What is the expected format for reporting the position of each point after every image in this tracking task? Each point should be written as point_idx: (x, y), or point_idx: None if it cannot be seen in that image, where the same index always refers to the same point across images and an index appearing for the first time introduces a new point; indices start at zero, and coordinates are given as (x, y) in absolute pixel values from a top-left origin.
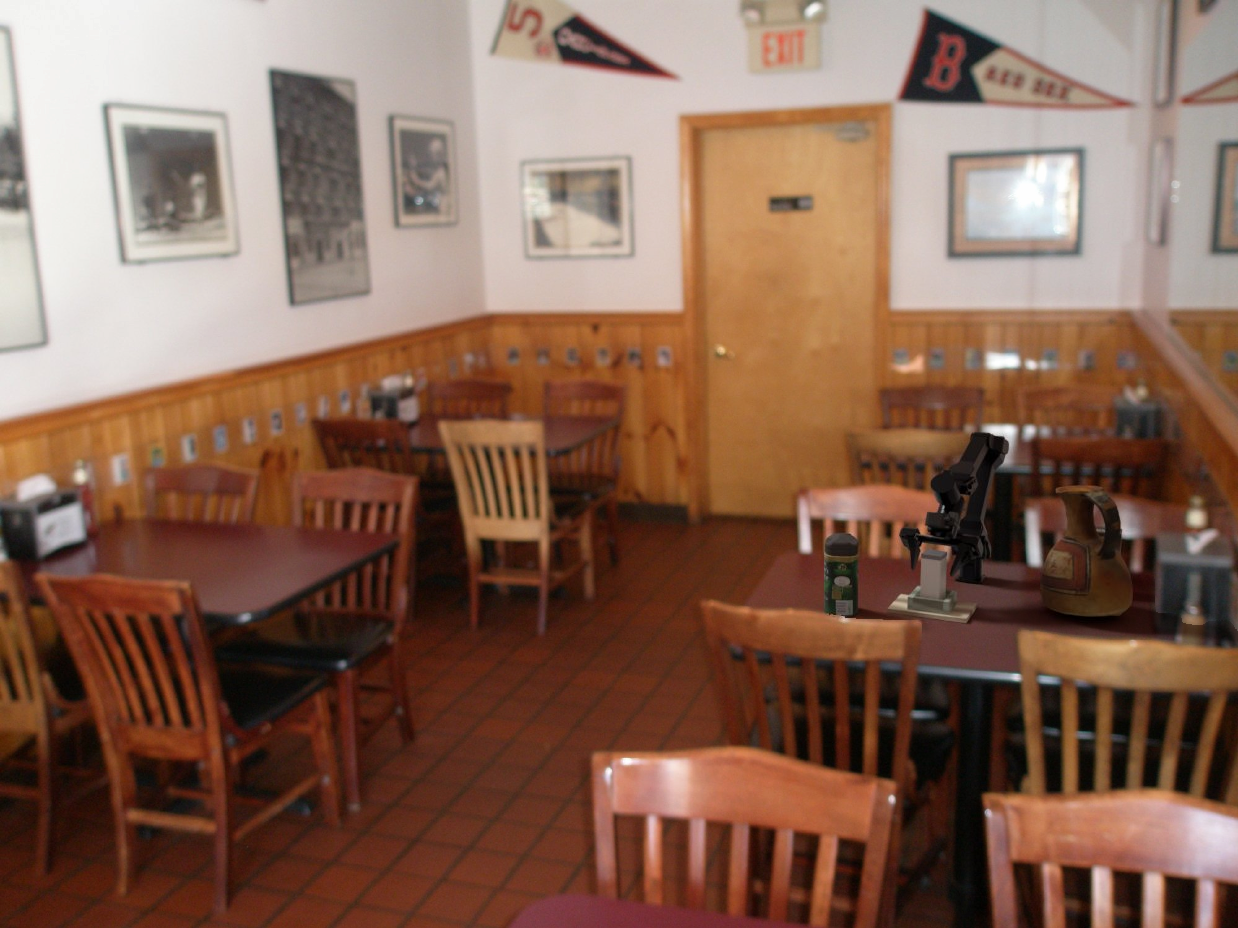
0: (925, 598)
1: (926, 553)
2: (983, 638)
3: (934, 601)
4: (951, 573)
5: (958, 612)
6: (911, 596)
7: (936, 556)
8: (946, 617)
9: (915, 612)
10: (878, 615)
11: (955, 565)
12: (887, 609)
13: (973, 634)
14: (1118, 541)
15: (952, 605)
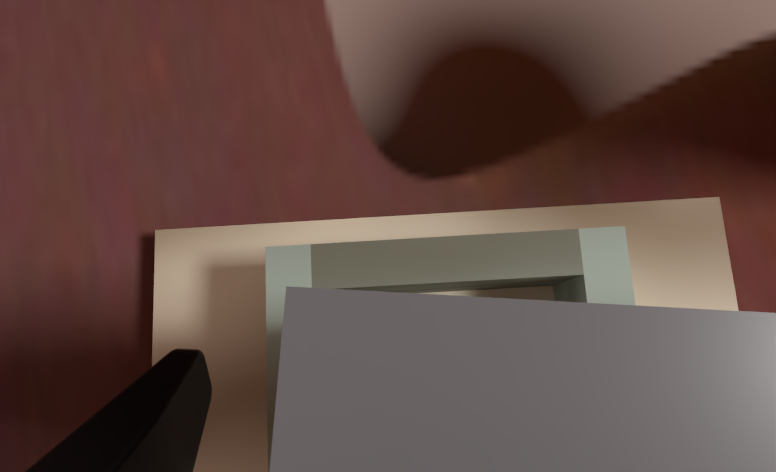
0: (472, 257)
1: (773, 426)
2: (28, 26)
3: (387, 241)
4: (172, 351)
5: (233, 347)
6: (601, 257)
7: (409, 297)
8: (292, 223)
9: (511, 209)
10: (728, 124)
11: (53, 454)
12: (714, 199)
13: (91, 62)
14: None
15: None
